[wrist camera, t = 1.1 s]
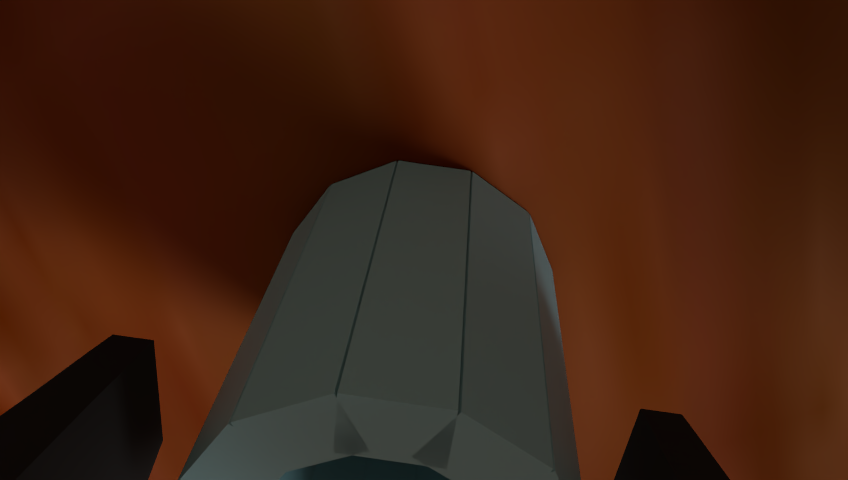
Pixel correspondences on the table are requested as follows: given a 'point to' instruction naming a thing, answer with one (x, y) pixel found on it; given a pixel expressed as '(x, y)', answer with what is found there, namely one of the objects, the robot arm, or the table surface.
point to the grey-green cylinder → (400, 344)
